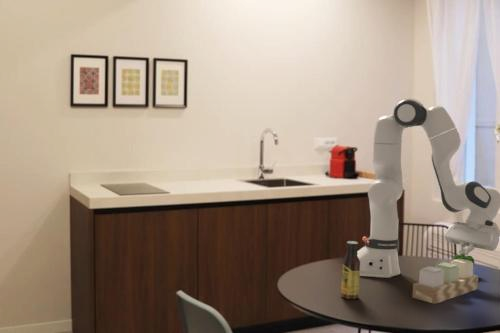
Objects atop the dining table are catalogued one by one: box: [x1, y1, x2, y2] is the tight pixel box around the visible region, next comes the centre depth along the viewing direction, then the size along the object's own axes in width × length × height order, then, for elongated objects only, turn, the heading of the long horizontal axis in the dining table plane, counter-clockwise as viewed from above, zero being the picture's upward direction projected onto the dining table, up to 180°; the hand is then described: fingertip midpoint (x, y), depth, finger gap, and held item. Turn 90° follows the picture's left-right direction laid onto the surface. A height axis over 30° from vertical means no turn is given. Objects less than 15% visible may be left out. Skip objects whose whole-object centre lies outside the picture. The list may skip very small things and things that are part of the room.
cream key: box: [449, 259, 474, 279], centre depth 230 cm, size 6×6×7 cm
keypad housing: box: [412, 274, 479, 305], centre depth 224 cm, size 29×9×5 cm, turn 131°
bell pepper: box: [453, 252, 475, 269], centre depth 249 cm, size 8×8×10 cm
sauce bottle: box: [340, 240, 361, 300], centre depth 216 cm, size 7×6×20 cm
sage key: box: [434, 262, 459, 283], centre depth 223 cm, size 6×6×7 cm
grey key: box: [418, 266, 444, 288], centre depth 217 cm, size 6×6×7 cm
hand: (462, 253), depth 230 cm, fingers closed
